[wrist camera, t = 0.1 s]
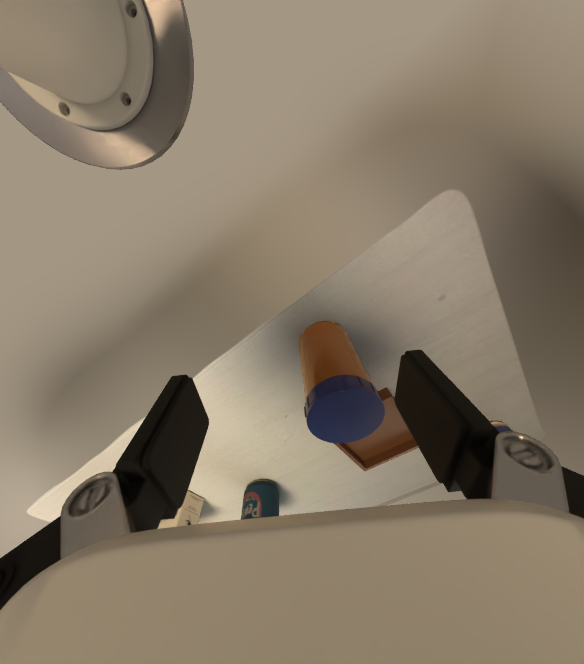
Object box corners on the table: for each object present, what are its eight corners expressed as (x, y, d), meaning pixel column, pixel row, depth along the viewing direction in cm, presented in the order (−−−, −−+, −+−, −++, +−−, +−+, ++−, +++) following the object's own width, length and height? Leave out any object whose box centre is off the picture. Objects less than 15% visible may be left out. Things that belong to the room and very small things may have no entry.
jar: (288, 339, 31) (292, 410, 20) (330, 311, 29) (358, 372, 18) (317, 370, 33) (333, 446, 23) (357, 346, 32) (394, 417, 21)
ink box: (178, 512, 51) (152, 590, 41) (159, 503, 49) (127, 584, 39) (205, 498, 49) (185, 578, 39) (187, 489, 47) (160, 570, 36)
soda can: (254, 473, 45) (246, 556, 35) (285, 482, 47) (286, 563, 37) (239, 491, 48) (227, 572, 37) (269, 498, 50) (266, 577, 39)
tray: (320, 422, 39) (321, 432, 37) (386, 387, 35) (391, 396, 34) (361, 461, 45) (364, 471, 43) (421, 434, 41) (427, 443, 40)
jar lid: (289, 400, 21) (290, 415, 20) (355, 361, 19) (361, 374, 18) (330, 437, 24) (333, 452, 23) (390, 406, 22) (398, 421, 21)
